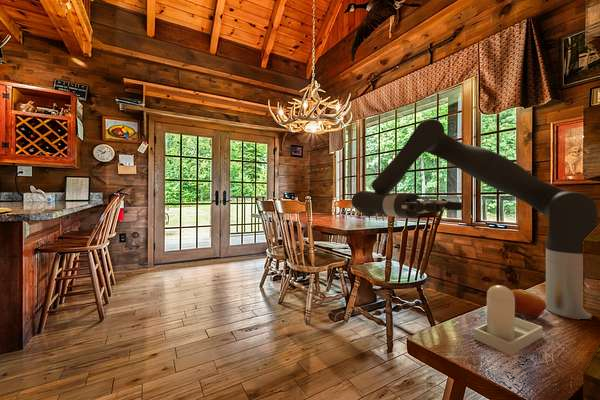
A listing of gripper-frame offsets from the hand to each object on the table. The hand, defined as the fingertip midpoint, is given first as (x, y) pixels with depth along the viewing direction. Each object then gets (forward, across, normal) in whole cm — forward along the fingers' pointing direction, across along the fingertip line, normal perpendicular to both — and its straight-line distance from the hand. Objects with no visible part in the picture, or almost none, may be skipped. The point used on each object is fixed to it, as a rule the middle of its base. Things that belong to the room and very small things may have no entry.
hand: (451, 206), depth 69 cm
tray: (+11, +4, +30) cm, 32 cm away
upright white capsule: (+11, 0, +29) cm, 31 cm away
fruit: (+8, +20, +30) cm, 37 cm away
